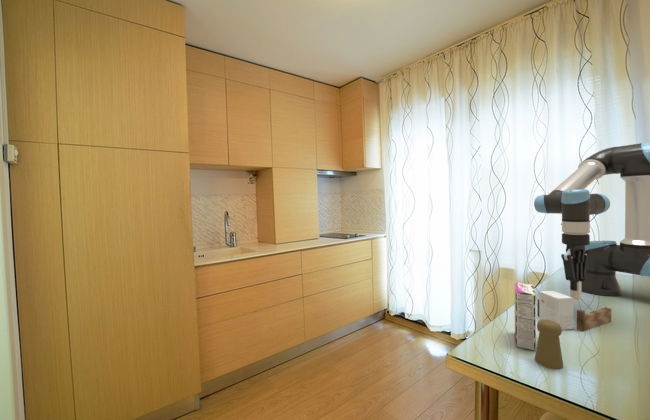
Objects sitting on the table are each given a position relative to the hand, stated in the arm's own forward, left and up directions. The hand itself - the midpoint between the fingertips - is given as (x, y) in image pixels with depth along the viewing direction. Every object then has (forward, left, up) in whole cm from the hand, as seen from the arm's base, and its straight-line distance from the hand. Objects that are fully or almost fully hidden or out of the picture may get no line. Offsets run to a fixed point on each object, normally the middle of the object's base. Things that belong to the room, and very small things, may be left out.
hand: (575, 298), depth 105 cm
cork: (+39, +13, -7) cm, 42 cm away
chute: (+1, 0, -7) cm, 7 cm away
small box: (+12, 0, -7) cm, 14 cm away
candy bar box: (+33, +3, -7) cm, 34 cm away
